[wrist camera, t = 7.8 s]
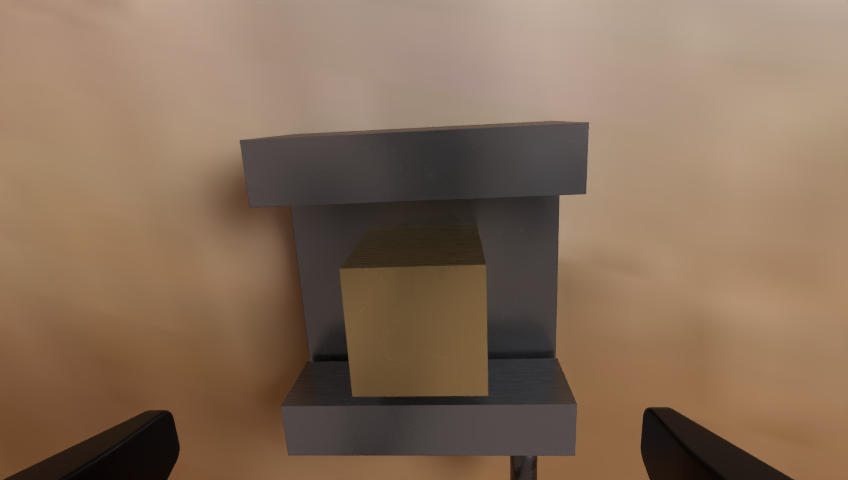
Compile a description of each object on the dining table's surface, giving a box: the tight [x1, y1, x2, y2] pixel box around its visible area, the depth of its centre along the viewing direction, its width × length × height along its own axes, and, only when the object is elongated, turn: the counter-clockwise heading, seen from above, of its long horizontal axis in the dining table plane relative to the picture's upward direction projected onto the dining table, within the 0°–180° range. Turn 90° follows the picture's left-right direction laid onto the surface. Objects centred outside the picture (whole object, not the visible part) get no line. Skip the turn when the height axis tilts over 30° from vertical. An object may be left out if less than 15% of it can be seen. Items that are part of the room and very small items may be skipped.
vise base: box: [240, 121, 589, 362], centre depth 17 cm, size 12×10×5 cm
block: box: [339, 223, 488, 397], centre depth 15 cm, size 4×4×5 cm
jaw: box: [281, 358, 577, 480], centre depth 18 cm, size 5×10×3 cm, turn 93°
